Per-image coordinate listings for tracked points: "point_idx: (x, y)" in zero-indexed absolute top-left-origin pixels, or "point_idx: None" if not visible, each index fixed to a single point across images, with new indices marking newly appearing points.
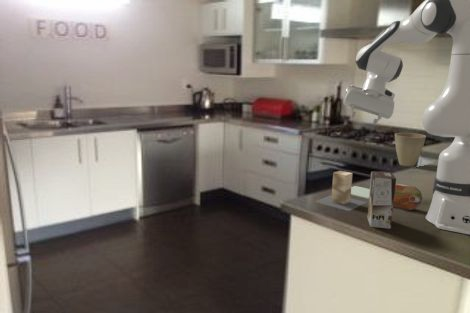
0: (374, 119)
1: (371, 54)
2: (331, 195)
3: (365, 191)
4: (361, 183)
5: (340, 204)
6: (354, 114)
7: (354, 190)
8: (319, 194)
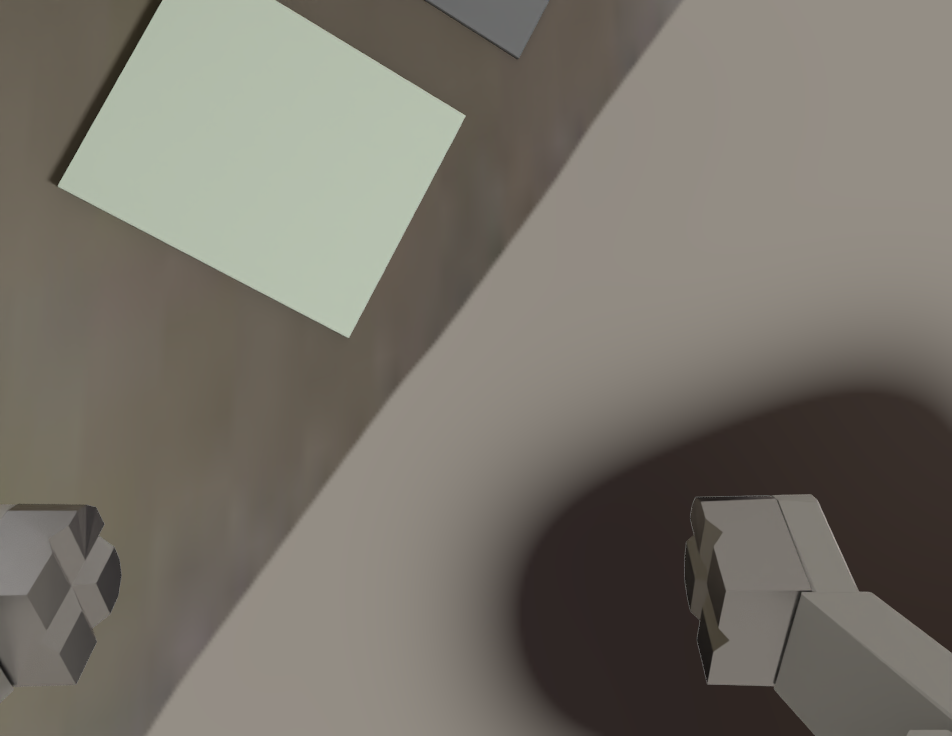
0: (49, 599)
1: None
2: (531, 13)
3: (260, 176)
4: (287, 492)
5: None
6: (724, 517)
7: (354, 181)
8: (617, 35)
